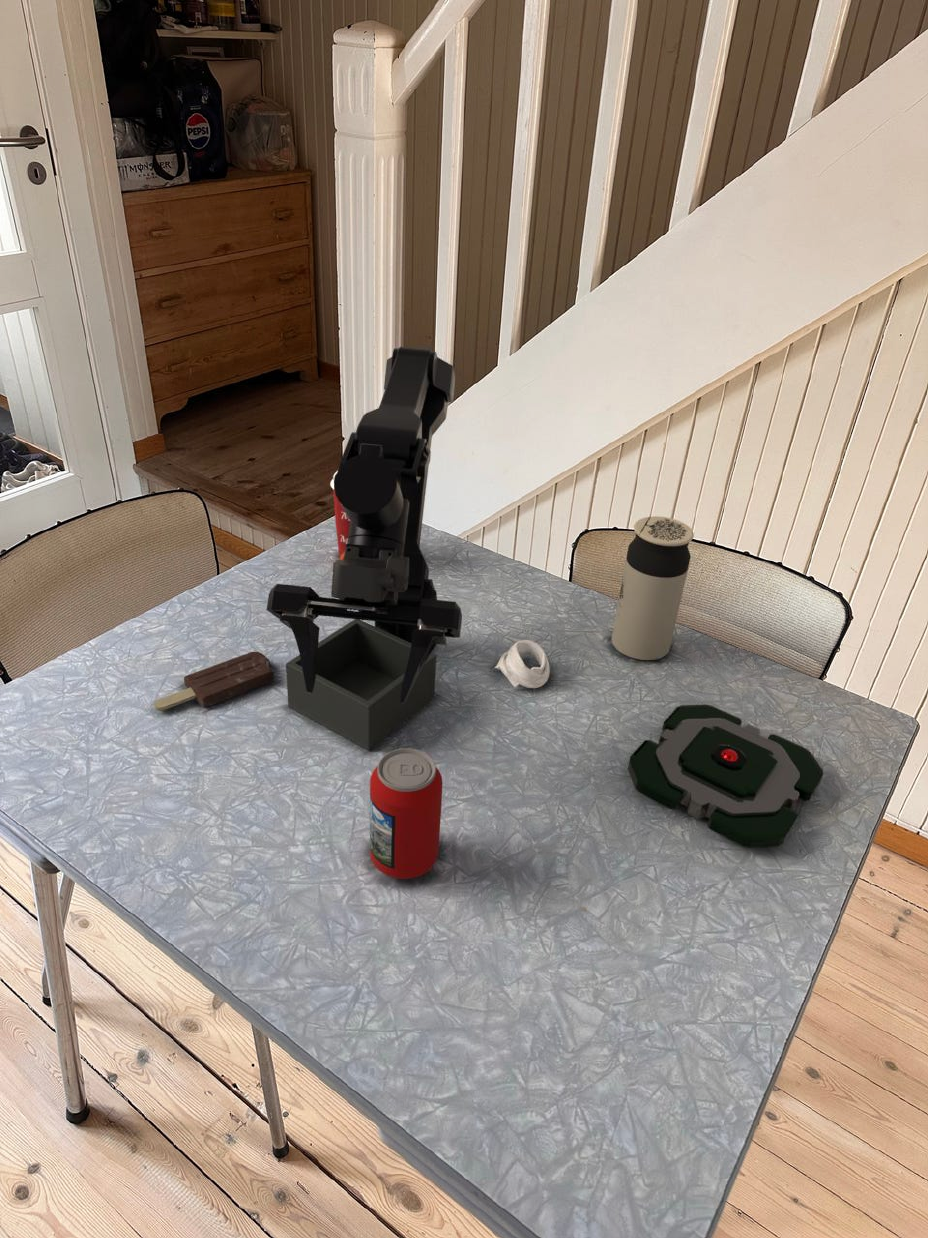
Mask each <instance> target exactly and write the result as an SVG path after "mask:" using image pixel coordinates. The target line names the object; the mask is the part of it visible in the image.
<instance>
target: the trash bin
mask: <svg viewBox="0 0 928 1238" xmlns="http://www.w3.org/2000/svg"><path fill="white" fill-rule="evenodd" d="M410 649H411V643H409V642H407V641H405V640H403V639H401V638H399V637H396V636H394V635H392V634H390V633H388V632H386V631H383V630H381V629H379V628H377V627H375V625H373V624H371V623H369V622H366V621H365V620H358V619H352V620H351V621H349V622H348V623H346V624H344V625H343V626H342V627H340V628H339V629H337V630H336V631H334V632H332V633H331V634H330V635H328V636H326V637H324V638H323V639H321V640H319V641H318V654H317V667H316V679H315V684H314V688H313V693H308V692H307V691H306V686H305V680H304V675H303V669H302V664H301V657H300V654H298V655H296V656H295V657H293V658H292V659H290V660H289V661H288V662H286V663H285V676H286V689H287V690H286V691H287V707H288V708H290V709H291V710H294V712H297V713H298V714H300V715H301V716H304V717H306V718H308V719H309V720H311V721H313V722H315V723H317V724H318V725H320V726H322V727H324V728H326V729H328V730H330V732H331V731H332V732H333V733H335V734H336V735H339V736H341V737H342V738H343V739H346V740H348V741H350V742H351V743H353V744H356V745H357V746H358V747H360V748H362V749H363V750H366V751H367V752H370V751H371V750H372V749H373V748H375V747H376V746H377V745H378V744H379V743H381V742H382V741H383V740H384V739H386V738H387V737H388V736H390V735H391V734H392V733H393V732H395V730H397V729H398V728H399V727H400V726H401V725H403V724H404V723H405V722H407V721H408V720H409V719H410V718H411V717H413V716H414V715H415V714H416V713H418V712H419V711H420V710H421V709H422V708H424V707H425V706H426V705H427V704H428V703H430V702H431V701H432V700H433V699H434V698H435V697H436V696H435V692H436V675H437V671H436V670H437V657H438V656H437V654H435V653H433V652H432V653H431V654H430V656H429V657H428V659H427V660H426V662H425V663H424V665H423V667H422V669H421V671H420V673H419V675H418V677H417V679H416V681H415V683H414V685H413V687H412V689H411V691H410V693H409V696H408V698H407V700H406V702H405V703H401V702H400V697H401V688H402V683H403V679H404V674H405V670H406V666H407V662H408V658H409V653H410Z"/></svg>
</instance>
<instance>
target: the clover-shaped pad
mask: <svg viewBox="0 0 928 1238" xmlns="http://www.w3.org/2000/svg"><path fill="white" fill-rule="evenodd" d="M742 723H743V721H742V719H741V718H740V717H738V716H736V715H734V714H731V713H730V712H727V711H725V710H723V709H720V708H719V707H716V706H714V705H712V704H711V705H710V704H703V703H702V704H682V705H679V706H676V707H675V709H674V710H673V711H672V712H671V713H670V714H669V716H667V717H666V719H664V721H663V724H662V728H661V732H660V733H659V737H658V742H655V741H653V740H650V739H645V740H644V741H643V742H642V743H641V744H640V745H639V746H638V747H637V748H636V750H634V752H633V753H632V754H631V755H630V756H629V760H628V764H627V771H628V774H629V776H630V778H631V781H632V783H633V786H634V788H635V790H636V791H638V793H640V794H641V795H642V796H645V797H647V798H649V799H651V800H653V801H655V802H656V803H658V804H660V805H662V806H664V807H665V808H667V809H670V810H676V809H677V808H678V806H679V805H683V806H685V807H686V813H687V815H689V816H691V817H693V818H694V819H696V820H700V819H701V820H702V819H703V818H708V821H707V827H708V829H709V830H711V831H713V832H714V833H716V834H718V835H720V836H722V837H724V838H726V839H728V840H730V841H731V842H733V843H735V844H737V845H739V846H741V847H744V848H747V849H755V848H771V847H773V848H774V847H780V846H782V845H784V843H785V841H786V840H787V838H788V837H789V835H790V833H791V832H792V830H793V828H794V826H795V825H796V823H797V820H798V818H799V813H798V812H797V811H796V810H795V809H796V806H797V803H798V801H799V799H800V800H802V801H804V802H810V800H811V799H812V797H813V796H814V794H815V792H816V791H817V789H818V787H819V786H820V785H821V782H822V780H823V777H824V769H823V768H822V767H821V765H820V763H818V761H817V759H816V758H815V756H814V755H813V753H812V752H811V750H809V749H808V748H806V747H805V746H802V745H799V744H798V743H795V742H794V741H791V740H789V739H787V738H785V737H783V736H780V735H778V734H775V733H769V735H768V737H765V736H763V735H761V734H760V733H761V732H760V731H761V730H760V728H758V727H756V726H753V725H752V724H746V725H745V726H742Z"/></svg>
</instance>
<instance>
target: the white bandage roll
mask: <svg viewBox="0 0 928 1238" xmlns="http://www.w3.org/2000/svg"><path fill="white" fill-rule="evenodd" d="M528 656H533V657H534V658H535V659H536V661H537V663H538V664H539V667H537V666H533V667H531V668H529V667H527V666H526V664H525V662H524V661H523V659H524V658H526V657H528ZM497 670H498V671H499V670H500V671H501V673H502V674H503V675H504V676H505V677H506V679H507V680H508V681H509V682H510V684H511V685H512V686H513V687H514V688H516V687H518V686H519V685H521V686H522V687H524V688H528V689H537V688H540V687H542V686H544V685H545V684H547V682H548V680H549V677H550V673H551V672H550V671H551V670H550V662H549V659H548V657H547V655H546V652H545V651H544V649H543V647H541V646H540V645H539V643H536V642H535V641H532V640H529V639H522V640H518V641H516V642H515V643H513V645H511V646H510V648H509V649H508V651H506V652H504V653H502V655H501V656H500V659H499V661H498V662H497V664H496V665H495V667H493V668H492V672H493V673H495V672H496V671H497Z"/></svg>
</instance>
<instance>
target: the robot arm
mask: <svg viewBox="0 0 928 1238" xmlns="http://www.w3.org/2000/svg"><path fill="white" fill-rule="evenodd" d="M391 355H392V356H391V357H389V358H387V359H386V363H385V373H384V382H383V383H384V384H383V390H384V391H383V395H382V397H381V399H380V403H379V406H378V407H377V408H375V409H373V410H371V411H368V412H366V413H364V414H363V415H362V417H361V419H360V421H359V422H358V424H357V426H356V430H355V431H352V432H351V433H350V436H349V438H348V440H347V443H346V446H345V448H344V451H343V454H342V455H341V458H340V461H339V465H338V469H337V471H338V472H337V471H336V472H337V474H336V475H335V478H334V491H335V494H336V497H337V499H338V500H339V502H340V504H341V506H342V508H343V509H344V511H345V513H346V515H347V517H348V518H349V520H350V526H349V533H348V541H347V544H346V549H345V554H344V557H343V559H340V558H339V560H337V561H335V562H333V563H332V577H331V579H332V580H331V594H330V597H324V596H320V595H319V594H318V593H317V592H316V590H314V589H313V588H312V587H311V586H305V585H304V586H302V585H294V584H293V585H292V584H283V583H276V584H275V585H274V586H273V587H272V588H271V589H270V590H269V593H268V597H267V603H266V604H267V605H266V611H268V613H270V614H272V615H273V616H274V617H276V618H277V619H279V622H280V623H282V624H283V625H284V626H286V627H287V628H289V629H291V631H292V634H293V636H294V639H295V641H296V646H297V649H298V653H299V655H300V657H301V664H302V669H303V675H304V680H305V686H306V691H307V692H308V693H313V688H314V684H315V679H316V667H317V654H318V642H320V640H319V638H320V626H318V625H317V624H316V623H315V622H314V620H316V619H317V618H318V617H319V616H321V617H329V618H330V617H331V618H338V619H339V618H340V619H348V620H349V619H350V620H354V619H358V620H362V621H369V622H374V626H375V627H377V628H379V629H381V630H383V631H386V632H388V633H390V634H392V635H394V636H396V637H399V638H401V639H403V640H405V641H407V642H409V643H411V649H410V653H409V658H408V662H407V666H406V670H405V674H404V679H403V683H402V688H401V697H400V702H401V703H405V702H406V700H407V698H408V696H409V693H410V691H411V689H412V687H413V685H414V683H415V681H416V679H417V677H418V675H419V673H420V671H421V669H422V667H423V665H424V663H425V662H426V660H427V659H428V657H429V656H430V654H431V653H433V651H434V649H435V648H436V646H446V645H447V640H448V639H447V638H452V639H459V638H461V630H462V621H463V615H462V614H463V613H462V609H461V607H460V605H459V604H458V603H457V601H452V600H451V601H450V600H443V599H442V600H440V599H438V594H437V590H436V589H435V585H434V582H433V578H429V577H430V576H429V575H430V567H429V565H428V563H427V561H426V558H425V557H424V553H423V552H422V550H421V547H420V546H421V537H422V529H423V520H424V510H425V501H426V500H425V499H426V493H427V484H428V474H429V467H430V466H429V465H430V463H431V457H432V451H431V449H432V441H433V440H432V439H433V436H434V434H435V433H436V432H437V431H438V430H439V428H440V427H441V426H442V424H443V423H444V422H445V421H446V419H447V414H448V407H449V403H451V404H452V403H454V397H455V387H456V374H455V368H454V366H453V364H450V363H449V362H447V361H446V360H444V359H442V358H440V357H438V353H437V351H433V350H431V348H421V347H411V346H410V347H409V346H399V347H396V348H395V347H394V348H393V351H392V354H391Z"/></svg>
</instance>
